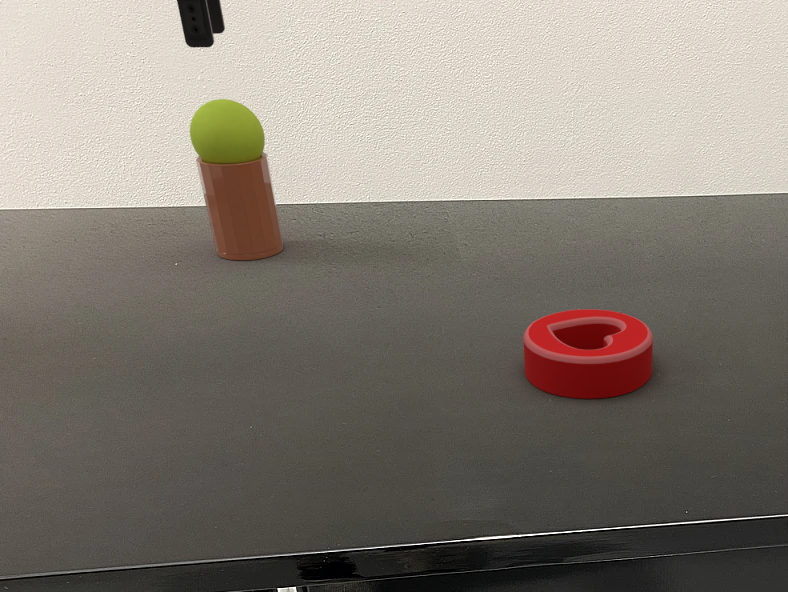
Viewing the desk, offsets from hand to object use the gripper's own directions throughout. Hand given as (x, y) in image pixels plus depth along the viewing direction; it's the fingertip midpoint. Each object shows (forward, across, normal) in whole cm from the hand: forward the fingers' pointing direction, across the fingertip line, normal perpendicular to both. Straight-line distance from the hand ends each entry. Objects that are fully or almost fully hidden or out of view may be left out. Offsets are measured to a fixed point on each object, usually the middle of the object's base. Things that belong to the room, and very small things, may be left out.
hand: (207, 39), depth 85 cm
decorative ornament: (+19, +34, +27) cm, 48 cm away
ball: (+11, 0, 0) cm, 11 cm away
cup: (+19, 0, 0) cm, 19 cm away
